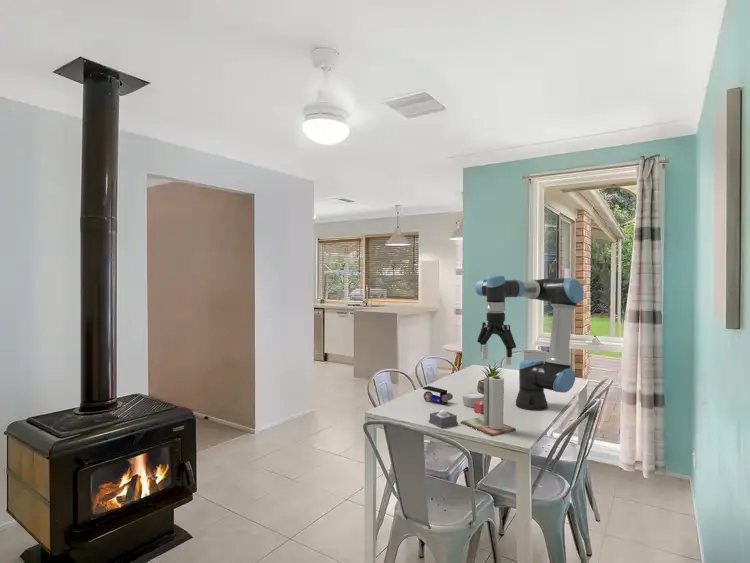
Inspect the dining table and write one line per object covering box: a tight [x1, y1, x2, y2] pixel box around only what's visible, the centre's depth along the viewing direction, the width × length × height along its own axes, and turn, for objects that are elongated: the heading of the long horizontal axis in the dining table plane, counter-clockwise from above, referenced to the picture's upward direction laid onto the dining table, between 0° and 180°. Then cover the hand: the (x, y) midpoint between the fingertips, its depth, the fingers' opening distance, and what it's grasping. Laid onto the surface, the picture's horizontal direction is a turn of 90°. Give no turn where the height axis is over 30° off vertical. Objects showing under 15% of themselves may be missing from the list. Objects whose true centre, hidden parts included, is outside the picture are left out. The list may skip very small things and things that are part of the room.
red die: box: [473, 401, 484, 415], centre depth 217 cm, size 4×4×5 cm
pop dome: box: [436, 409, 450, 418], centre depth 200 cm, size 6×6×5 cm
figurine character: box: [422, 385, 454, 406], centre depth 234 cm, size 7×8×15 cm
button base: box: [428, 411, 459, 429], centre depth 200 cm, size 9×9×4 cm
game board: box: [460, 416, 517, 437], centre depth 196 cm, size 14×19×1 cm
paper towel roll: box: [483, 376, 505, 430], centre depth 192 cm, size 7×6×21 cm
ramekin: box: [461, 391, 484, 408], centre depth 229 cm, size 11×11×5 cm
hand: (495, 362), depth 192 cm, fingers open, 13 cm apart
